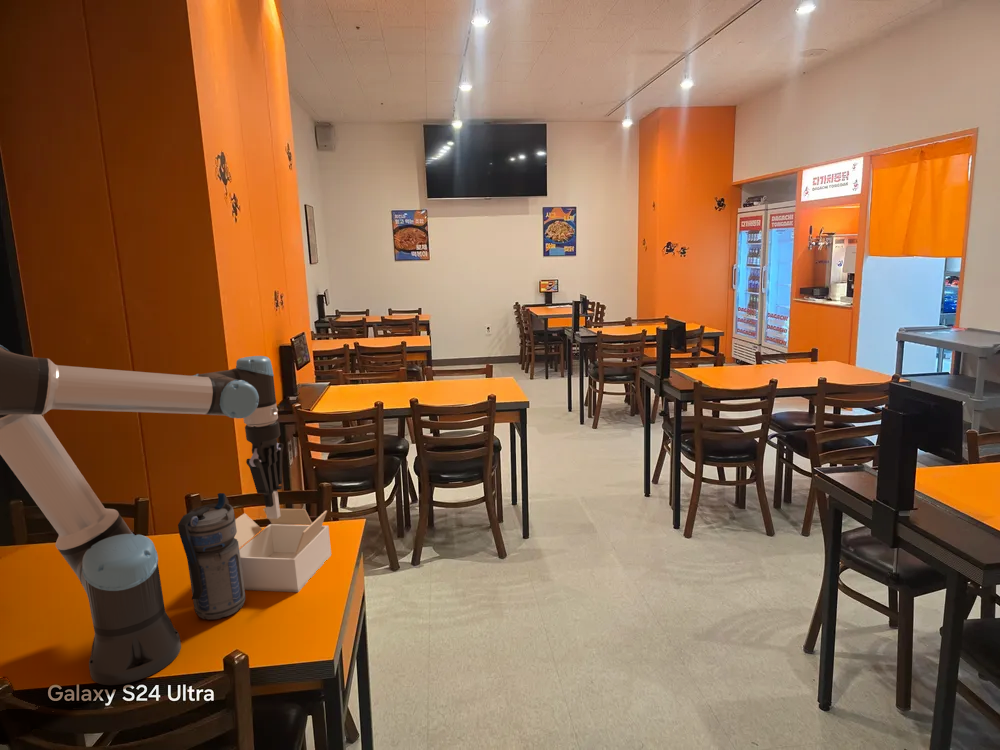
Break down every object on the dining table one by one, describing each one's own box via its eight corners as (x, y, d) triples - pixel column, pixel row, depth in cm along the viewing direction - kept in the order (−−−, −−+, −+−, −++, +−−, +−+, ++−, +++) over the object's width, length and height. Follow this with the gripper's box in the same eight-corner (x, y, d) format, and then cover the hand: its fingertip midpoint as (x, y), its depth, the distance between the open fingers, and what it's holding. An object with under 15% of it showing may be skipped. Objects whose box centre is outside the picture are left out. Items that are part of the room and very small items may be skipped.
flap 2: (294, 553, 141) (296, 554, 141) (302, 531, 139) (304, 532, 139) (318, 530, 152) (319, 531, 152) (325, 510, 151) (327, 511, 151)
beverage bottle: (176, 626, 129) (158, 513, 125) (220, 593, 142) (206, 490, 137) (216, 632, 127) (200, 517, 122) (258, 597, 139) (244, 492, 135)
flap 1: (304, 510, 153) (305, 509, 153) (263, 509, 155) (263, 508, 155) (312, 524, 157) (312, 523, 157) (271, 523, 158) (272, 522, 159)
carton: (298, 592, 141) (292, 539, 138) (217, 588, 144) (210, 536, 142) (331, 555, 158) (326, 507, 156) (259, 552, 162) (253, 505, 159)
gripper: (261, 430, 137) (274, 529, 142) (290, 415, 150) (301, 506, 154) (230, 430, 138) (244, 528, 143) (261, 415, 151) (273, 506, 156)
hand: (273, 517), depth 149 cm, fingers closed
